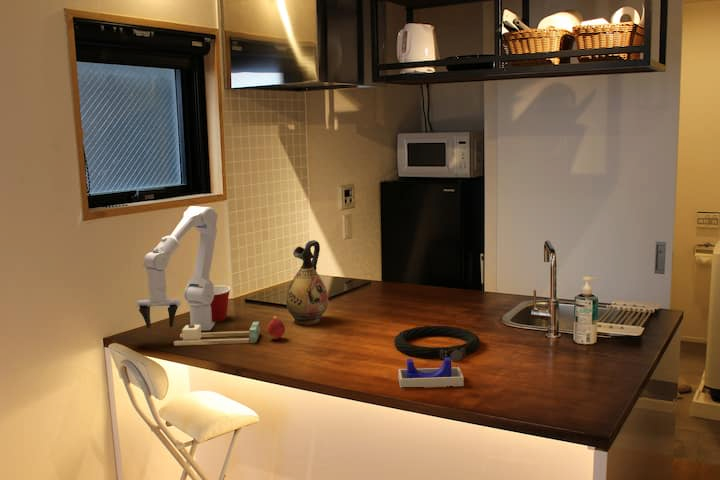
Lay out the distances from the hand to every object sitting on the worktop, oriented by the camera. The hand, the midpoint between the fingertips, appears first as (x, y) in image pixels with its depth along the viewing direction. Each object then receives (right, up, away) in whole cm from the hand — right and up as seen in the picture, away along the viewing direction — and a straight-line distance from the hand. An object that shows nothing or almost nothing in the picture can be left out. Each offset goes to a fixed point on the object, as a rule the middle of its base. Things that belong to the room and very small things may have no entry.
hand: (160, 326), depth 242 cm
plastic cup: (+14, -1, +27) cm, 30 cm away
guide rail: (+19, -4, +1) cm, 20 cm away
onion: (+40, -4, -1) cm, 40 cm away
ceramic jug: (+49, -1, +21) cm, 54 cm away
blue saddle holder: (+87, -10, -43) cm, 98 cm away
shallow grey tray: (+87, -10, -45) cm, 99 cm away
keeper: (+11, -5, +1) cm, 12 cm away
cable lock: (+93, -5, -14) cm, 94 cm away
